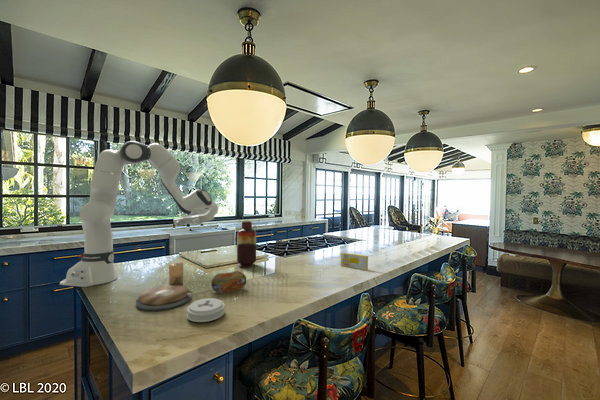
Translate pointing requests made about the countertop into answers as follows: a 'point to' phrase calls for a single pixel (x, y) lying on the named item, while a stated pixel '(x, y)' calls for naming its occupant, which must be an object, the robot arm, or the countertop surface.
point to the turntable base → (162, 307)
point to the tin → (228, 282)
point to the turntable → (164, 295)
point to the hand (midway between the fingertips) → (184, 223)
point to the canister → (176, 274)
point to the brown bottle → (246, 245)
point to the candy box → (354, 261)
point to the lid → (205, 310)
